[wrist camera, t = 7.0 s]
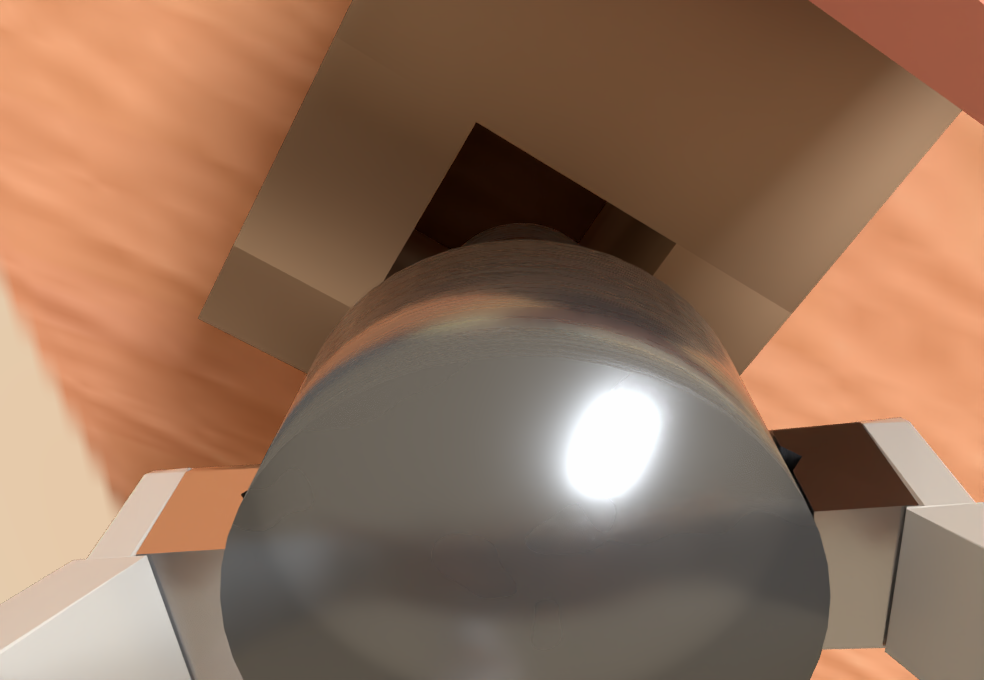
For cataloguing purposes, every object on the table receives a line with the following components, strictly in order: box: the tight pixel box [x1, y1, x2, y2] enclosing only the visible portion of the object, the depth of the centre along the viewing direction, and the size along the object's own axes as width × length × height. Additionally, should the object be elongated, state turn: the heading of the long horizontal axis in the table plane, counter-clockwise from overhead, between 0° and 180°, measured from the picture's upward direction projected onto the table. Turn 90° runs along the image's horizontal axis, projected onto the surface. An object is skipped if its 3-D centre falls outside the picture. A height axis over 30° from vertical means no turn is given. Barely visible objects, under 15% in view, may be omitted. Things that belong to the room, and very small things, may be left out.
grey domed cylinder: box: [220, 223, 831, 680], centre depth 11 cm, size 6×6×8 cm
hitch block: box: [198, 0, 962, 376], centre depth 17 cm, size 18×10×6 cm, turn 149°
